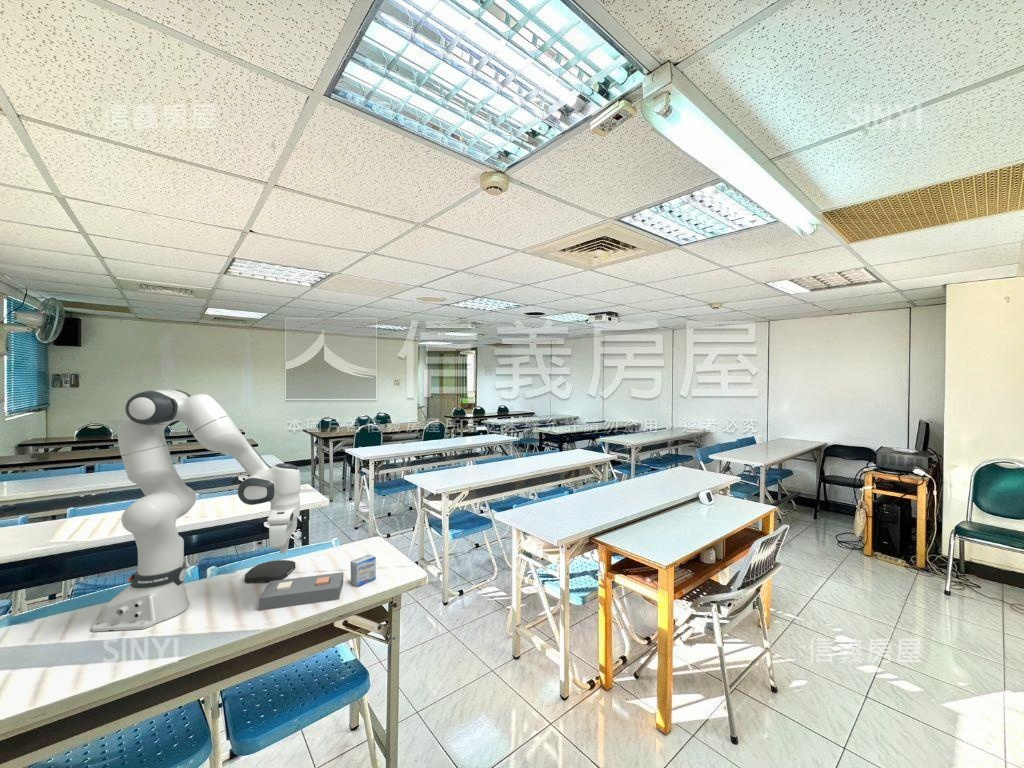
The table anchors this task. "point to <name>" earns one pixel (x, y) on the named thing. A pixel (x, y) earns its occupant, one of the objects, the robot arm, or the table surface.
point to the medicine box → (363, 570)
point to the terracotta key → (323, 581)
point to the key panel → (301, 592)
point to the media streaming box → (270, 571)
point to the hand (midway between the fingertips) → (283, 551)
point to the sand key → (284, 586)
